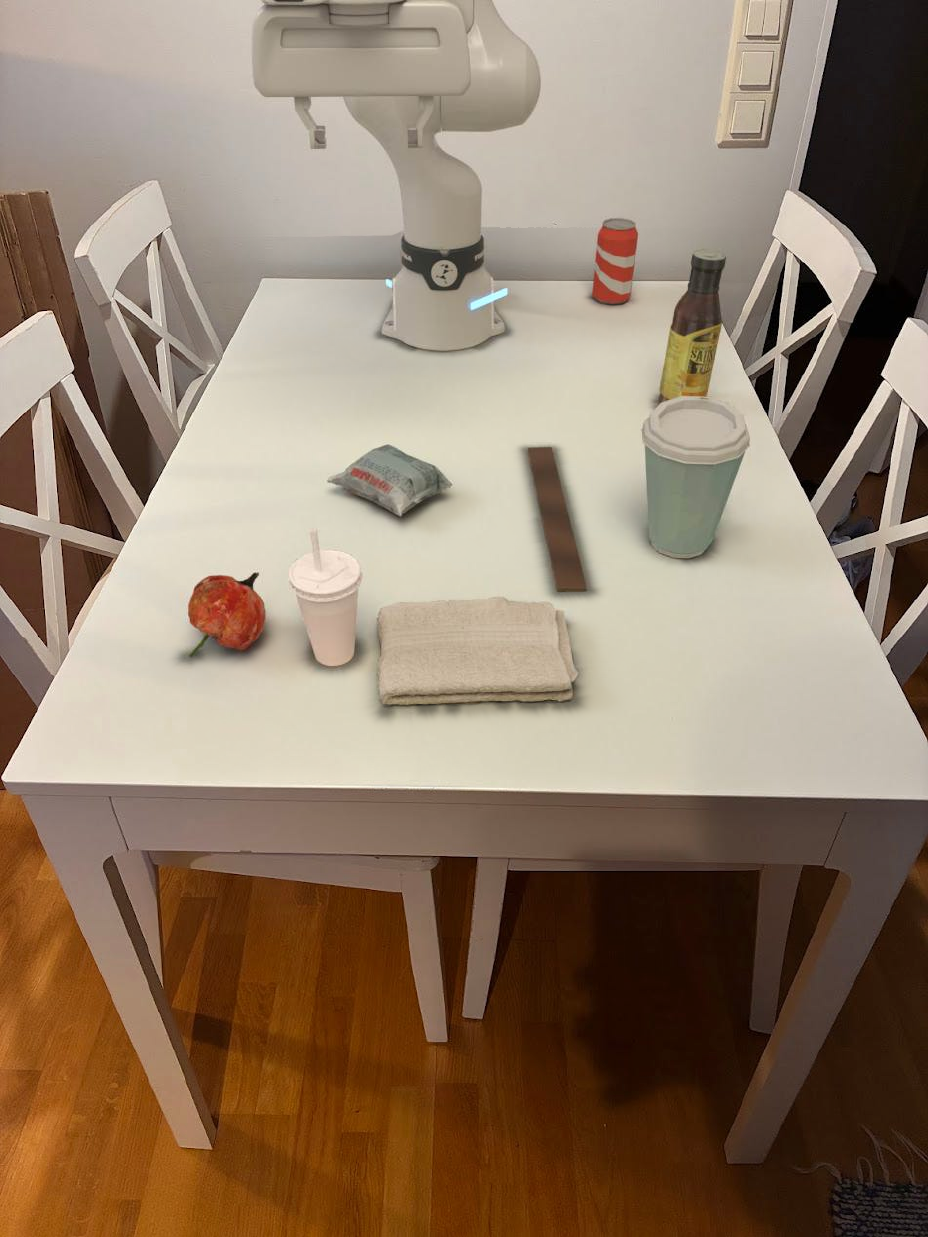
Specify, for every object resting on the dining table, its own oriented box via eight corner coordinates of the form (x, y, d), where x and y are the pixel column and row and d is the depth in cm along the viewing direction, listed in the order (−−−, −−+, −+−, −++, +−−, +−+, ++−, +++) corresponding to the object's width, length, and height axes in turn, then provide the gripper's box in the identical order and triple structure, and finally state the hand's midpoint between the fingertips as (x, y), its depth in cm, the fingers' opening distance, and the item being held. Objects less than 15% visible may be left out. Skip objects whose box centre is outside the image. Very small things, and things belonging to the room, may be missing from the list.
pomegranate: (226, 693, 86) (299, 616, 85) (163, 657, 81) (239, 575, 80) (209, 651, 92) (278, 578, 91) (149, 614, 87) (221, 537, 86)
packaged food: (401, 533, 102) (400, 494, 99) (327, 494, 108) (323, 456, 105) (453, 501, 107) (454, 463, 104) (380, 465, 113) (378, 429, 110)
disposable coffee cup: (718, 580, 96) (747, 452, 86) (615, 558, 99) (632, 432, 89) (732, 525, 103) (760, 402, 94) (637, 506, 106) (654, 384, 96)
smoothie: (292, 640, 88) (273, 517, 79) (356, 623, 90) (345, 501, 81) (311, 684, 84) (293, 559, 75) (378, 665, 86) (368, 541, 77)
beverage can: (620, 309, 150) (629, 232, 142) (585, 300, 152) (591, 224, 144) (636, 297, 153) (646, 221, 146) (601, 289, 156) (609, 214, 148)
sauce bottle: (684, 421, 121) (711, 268, 109) (647, 404, 125) (669, 253, 112) (715, 405, 125) (745, 255, 112) (678, 389, 128) (703, 242, 115)
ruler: (527, 450, 116) (527, 447, 115) (551, 450, 116) (551, 446, 115) (556, 591, 94) (557, 588, 94) (586, 590, 94) (586, 587, 94)
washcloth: (581, 704, 82) (584, 678, 80) (377, 713, 81) (375, 687, 79) (561, 617, 91) (563, 592, 89) (377, 624, 90) (375, 599, 88)
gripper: (472, -28, 85) (470, 138, 94) (247, -28, 84) (266, 140, 93) (477, -21, 81) (475, 153, 89) (238, -20, 79) (260, 156, 88)
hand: (367, 147), depth 91 cm, fingers open, 8 cm apart
